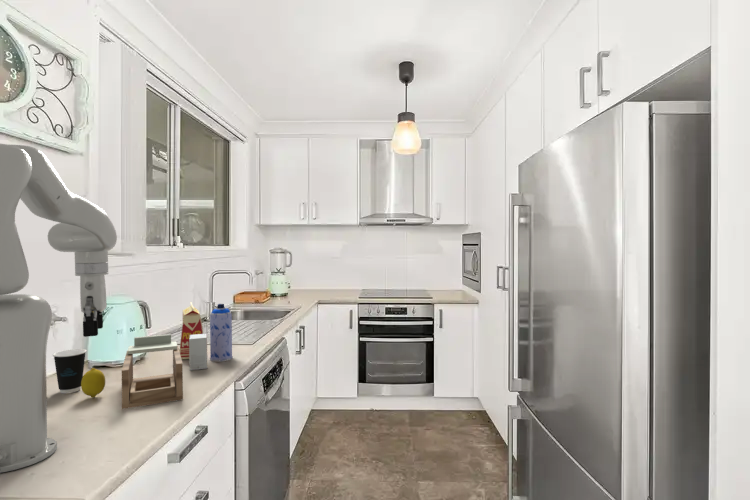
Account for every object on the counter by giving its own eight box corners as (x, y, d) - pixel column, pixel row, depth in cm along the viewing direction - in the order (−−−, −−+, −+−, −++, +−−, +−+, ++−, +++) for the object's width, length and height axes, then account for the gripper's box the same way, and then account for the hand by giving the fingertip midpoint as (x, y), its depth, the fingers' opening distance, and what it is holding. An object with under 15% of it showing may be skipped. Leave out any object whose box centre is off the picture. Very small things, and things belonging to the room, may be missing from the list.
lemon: (93, 401, 113) (93, 371, 113) (76, 400, 114) (75, 370, 114) (110, 394, 118) (110, 365, 118) (93, 393, 120) (93, 365, 120)
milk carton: (178, 354, 162) (177, 302, 162) (204, 352, 166) (203, 300, 166) (178, 360, 154) (177, 305, 154) (205, 357, 158) (205, 303, 158)
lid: (177, 349, 129) (177, 337, 129) (127, 354, 123) (127, 342, 123) (176, 344, 135) (176, 333, 135) (128, 349, 129) (128, 337, 129)
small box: (207, 368, 143) (207, 337, 143) (189, 370, 141) (188, 339, 141) (207, 363, 151) (206, 333, 151) (189, 364, 149) (189, 334, 149)
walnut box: (182, 399, 114) (182, 363, 114) (122, 409, 108) (121, 370, 108) (178, 375, 135) (178, 345, 135) (127, 382, 129) (127, 350, 129)
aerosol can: (237, 356, 159) (236, 303, 159) (222, 362, 151) (222, 305, 151) (219, 355, 161) (219, 302, 161) (205, 360, 154) (204, 305, 154)
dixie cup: (77, 384, 128) (76, 347, 128) (93, 388, 124) (92, 350, 124) (47, 392, 121) (46, 353, 121) (62, 397, 117) (62, 356, 117)
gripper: (104, 271, 110) (105, 337, 110) (111, 266, 125) (113, 325, 126) (68, 272, 106) (70, 340, 107) (80, 267, 122) (82, 327, 122)
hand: (93, 332), depth 116 cm, fingers open, 9 cm apart
